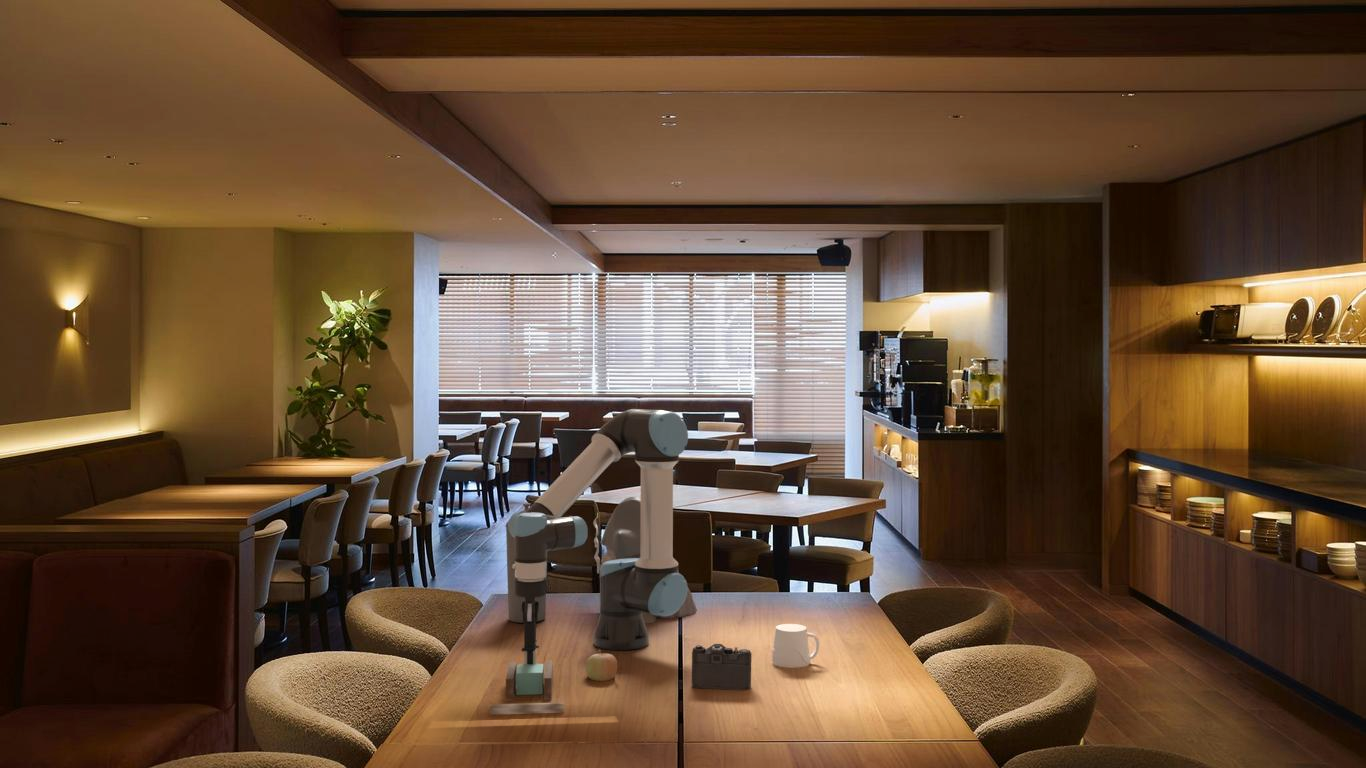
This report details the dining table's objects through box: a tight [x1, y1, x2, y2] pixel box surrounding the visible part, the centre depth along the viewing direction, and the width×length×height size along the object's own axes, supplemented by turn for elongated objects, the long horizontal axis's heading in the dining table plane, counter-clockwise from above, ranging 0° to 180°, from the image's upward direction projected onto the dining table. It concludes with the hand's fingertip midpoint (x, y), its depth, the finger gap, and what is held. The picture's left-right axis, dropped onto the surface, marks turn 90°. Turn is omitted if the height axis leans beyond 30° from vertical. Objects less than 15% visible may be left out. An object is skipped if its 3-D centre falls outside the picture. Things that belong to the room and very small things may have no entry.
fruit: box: [585, 648, 618, 682], centre depth 261 cm, size 8×7×8 cm
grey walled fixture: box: [489, 660, 565, 720], centre depth 246 cm, size 16×23×6 cm
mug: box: [771, 623, 820, 669], centre depth 277 cm, size 12×9×8 cm
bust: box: [592, 496, 698, 625], centre depth 334 cm, size 34×34×35 cm
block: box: [515, 663, 545, 696], centre depth 251 cm, size 6×7×5 cm
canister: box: [505, 502, 548, 624], centre depth 321 cm, size 13×13×35 cm
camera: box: [691, 643, 752, 691], centre depth 260 cm, size 14×11×10 cm
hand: (530, 676), depth 256 cm, fingers closed
